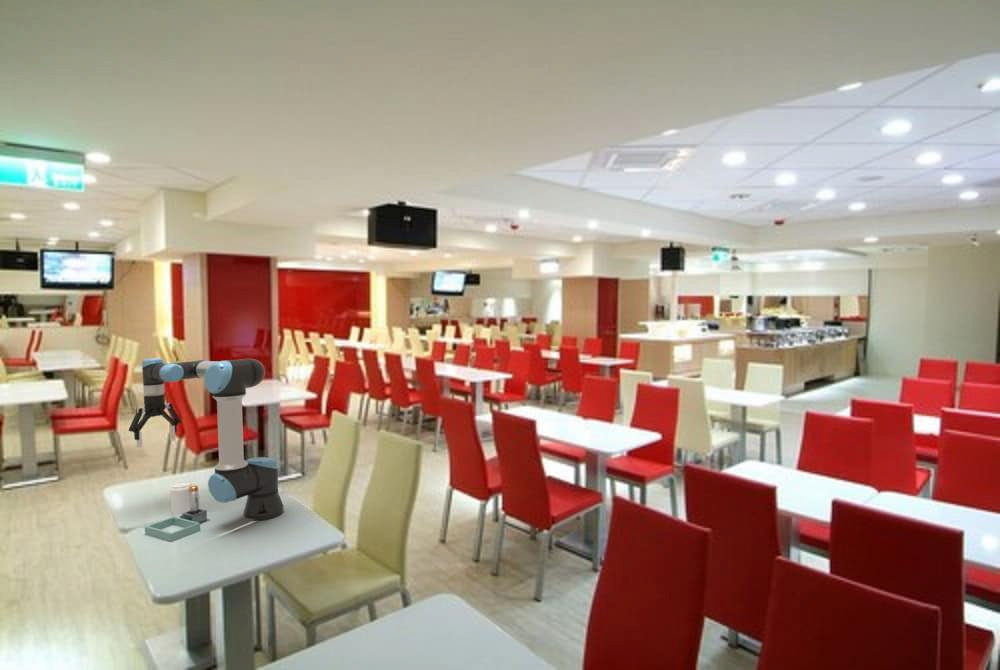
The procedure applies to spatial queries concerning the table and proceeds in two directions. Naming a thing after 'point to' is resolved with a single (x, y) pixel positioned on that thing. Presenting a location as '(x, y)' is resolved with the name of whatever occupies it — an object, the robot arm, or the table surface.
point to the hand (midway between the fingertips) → (156, 443)
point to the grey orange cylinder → (193, 499)
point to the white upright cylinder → (180, 497)
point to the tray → (188, 529)
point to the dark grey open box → (196, 516)
